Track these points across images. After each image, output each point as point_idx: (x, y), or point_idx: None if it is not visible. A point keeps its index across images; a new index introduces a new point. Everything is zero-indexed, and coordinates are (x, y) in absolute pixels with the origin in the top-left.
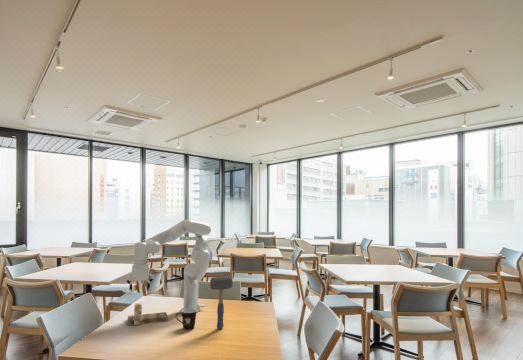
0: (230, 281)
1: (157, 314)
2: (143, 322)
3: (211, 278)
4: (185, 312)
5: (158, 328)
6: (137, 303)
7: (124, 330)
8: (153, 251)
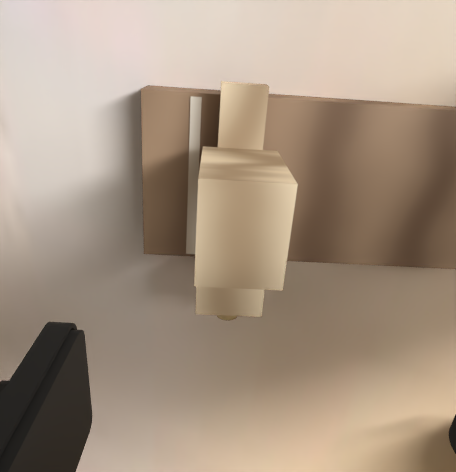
0: None
1: (435, 169)
2: None
3: None
4: None
5: (350, 372)
6: (237, 196)
7: (128, 334)
8: None
